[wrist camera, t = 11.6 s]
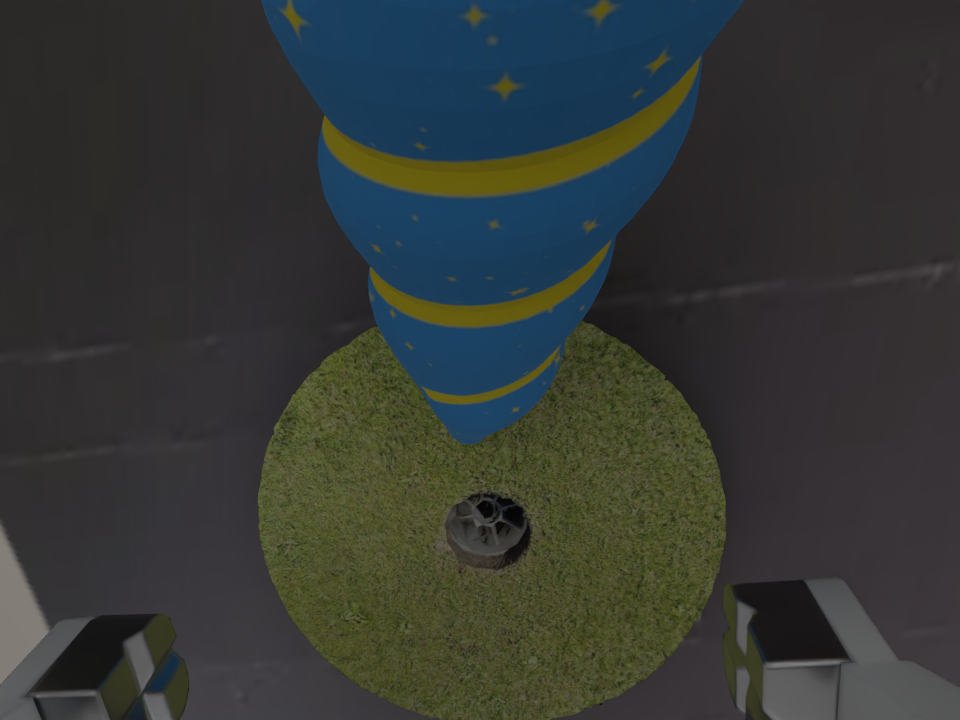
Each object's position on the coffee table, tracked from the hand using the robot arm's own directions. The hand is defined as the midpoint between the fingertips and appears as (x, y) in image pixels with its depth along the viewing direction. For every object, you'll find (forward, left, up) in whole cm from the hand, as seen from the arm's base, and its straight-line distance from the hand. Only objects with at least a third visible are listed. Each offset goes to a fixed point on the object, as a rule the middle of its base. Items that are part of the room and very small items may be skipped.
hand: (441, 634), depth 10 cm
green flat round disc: (+2, -2, -8) cm, 9 cm away
